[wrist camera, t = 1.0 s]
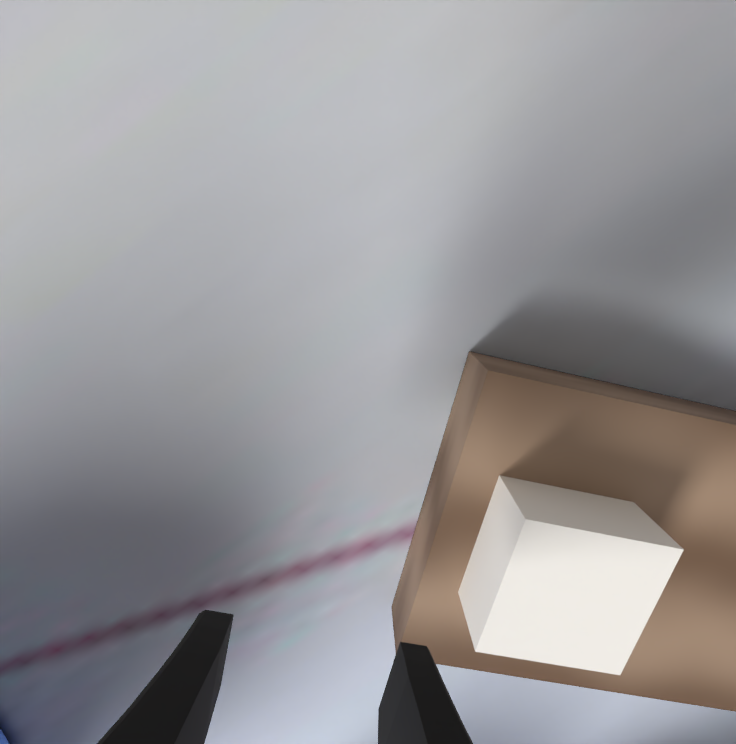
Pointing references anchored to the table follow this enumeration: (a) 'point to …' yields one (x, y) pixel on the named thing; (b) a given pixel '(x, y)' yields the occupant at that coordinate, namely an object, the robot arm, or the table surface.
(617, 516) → the white square block
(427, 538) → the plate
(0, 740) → the water jug
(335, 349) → the table surface
